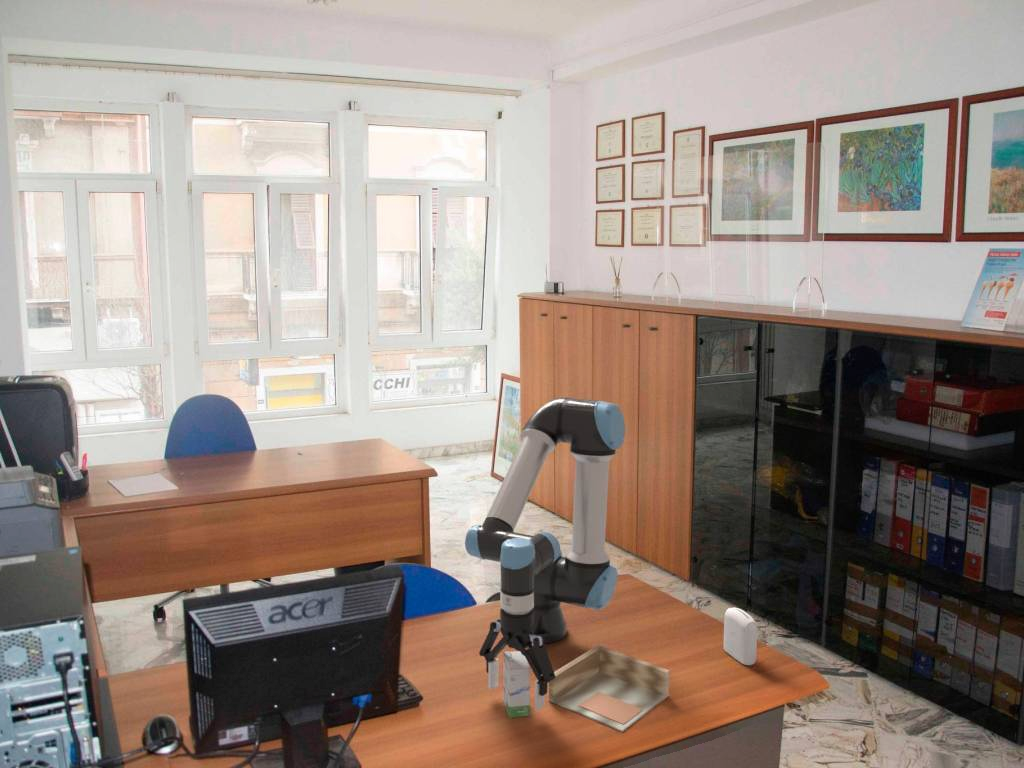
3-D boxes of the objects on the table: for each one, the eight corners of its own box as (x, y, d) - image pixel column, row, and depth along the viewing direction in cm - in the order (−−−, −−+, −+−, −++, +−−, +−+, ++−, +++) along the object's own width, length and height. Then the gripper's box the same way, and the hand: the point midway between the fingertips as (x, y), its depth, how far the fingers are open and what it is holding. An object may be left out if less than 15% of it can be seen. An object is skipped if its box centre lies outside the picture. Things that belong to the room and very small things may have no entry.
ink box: (530, 716, 195) (530, 667, 193) (508, 718, 194) (508, 668, 192) (523, 696, 203) (523, 649, 201) (502, 698, 202) (502, 651, 201)
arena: (548, 700, 202) (549, 675, 200) (597, 669, 217) (598, 644, 216) (622, 732, 189) (623, 704, 188) (668, 695, 204) (669, 670, 203)
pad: (578, 706, 199) (578, 705, 199) (598, 692, 205) (598, 691, 205) (623, 724, 191) (623, 723, 191) (642, 710, 197) (642, 709, 197)
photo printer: (720, 649, 228) (722, 604, 226) (734, 646, 229) (736, 602, 227) (743, 667, 218) (746, 620, 216) (758, 664, 220) (760, 618, 218)
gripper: (464, 598, 200) (464, 685, 203) (551, 629, 184) (549, 723, 187) (486, 589, 206) (485, 673, 209) (572, 618, 190) (570, 709, 193)
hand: (515, 697), depth 198 cm, fingers open, 13 cm apart
